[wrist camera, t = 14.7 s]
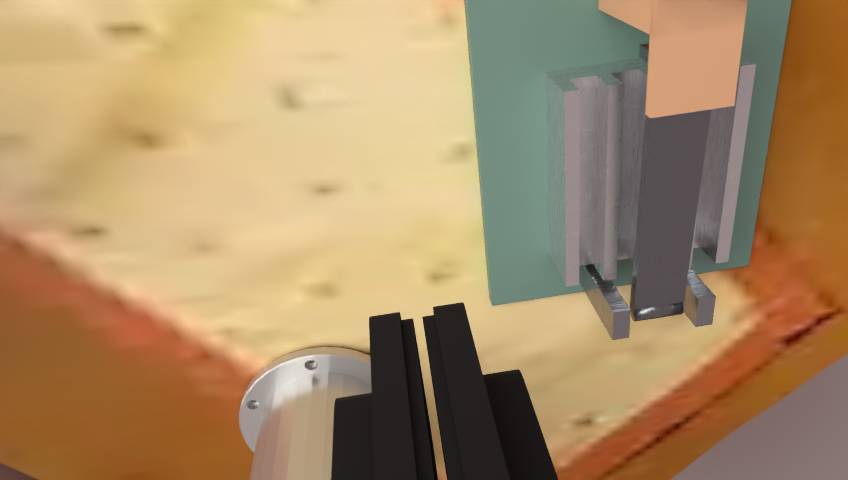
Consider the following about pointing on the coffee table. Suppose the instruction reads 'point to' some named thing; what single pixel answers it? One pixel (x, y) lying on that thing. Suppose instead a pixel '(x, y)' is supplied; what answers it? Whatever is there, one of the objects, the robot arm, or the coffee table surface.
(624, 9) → the bracket
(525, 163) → the circuit board
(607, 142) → the heatsink
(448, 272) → the coffee table surface
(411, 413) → the robot arm
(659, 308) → the strap
